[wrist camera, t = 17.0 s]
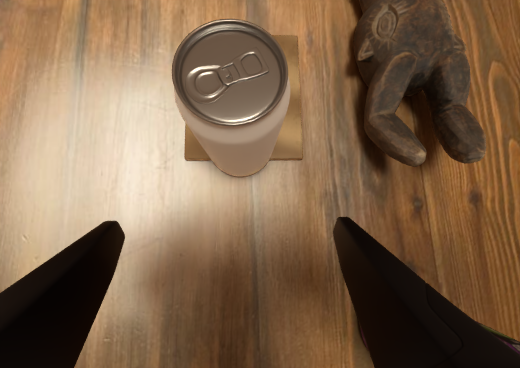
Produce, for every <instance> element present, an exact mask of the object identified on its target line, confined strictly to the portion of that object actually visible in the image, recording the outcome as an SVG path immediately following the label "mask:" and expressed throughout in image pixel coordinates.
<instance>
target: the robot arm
mask: <svg viewBox="0 0 520 368" xmlns="http://www.w3.org/2000/svg"><path fill="white" fill-rule="evenodd" d="M333 236H334V240H335V245H336V249H337V254H338V258H339V263H340V267H341V271H342V274H343V277H344V280H345V283H346V285H347V288H348V291H349V294H350V297H351V300H352V303H353V306H354V309H355V312H356V315H357V318H358V320H359V323H360V326H361V329H362V332H363V335H364V338H365V341H366V344H367V347H368V350H369V353H370V355H371V358H372V361H373V364H374V367H375V368H520V354H519V353H517V352H516V351H515V350H513V349H512V348H511V347H509V346H508V345H507V344H505V343H504V342H503V341H501V340H500V339H499V338H497V337H496V336H495V335H493V334H492V333H490V332H489V331H488V330H486V329H485V328H484V327H482V326H481V325H480V324H478V323H477V322H476V321H474V320H473V319H472V318H470V317H469V316H468V315H466V314H465V313H464V312H462V311H461V310H460V309H458V308H457V307H456V306H454V305H453V304H452V303H451V302H450V301H448V300H447V299H446V298H445V297H443V296H442V295H441V294H440V293H438V292H437V291H436V290H435V289H434V288H432V287H431V286H430V285H429V284H428V283H425V281H424V280H423V279H422V278H420V277H419V276H418V275H417V274H416V273H414V272H413V271H412V270H411V269H410V268H408V267H407V266H406V265H405V264H404V263H403V262H401V261H400V260H399V259H398V258H397V257H395V256H394V255H393V254H392V253H391V252H389V251H388V250H387V249H386V248H385V247H383V246H382V245H381V244H380V243H379V242H377V241H376V240H375V239H374V238H373V237H372V236H370V235H369V234H368V233H367V232H366V231H364V230H363V229H362V228H361V227H360V226H358V225H357V224H356V223H355V222H354V221H352V220H351V219H350V218H349V217H338V218H337V221H336V224H335V227H334V230H333ZM124 240H125V235H124V232H123V230H122V228H121V226H120V225H119V223H118V222H117V221H105V222H103V223H102V224H100V225H99V226H97V227H96V228H94V229H93V230H91V231H90V232H88V233H87V234H86V235H84V236H83V237H81V238H80V239H78V240H77V241H75V242H74V243H72V244H71V245H70V246H68V247H67V248H65V249H64V250H62V251H61V252H59V253H58V254H56V255H55V256H54V257H52V258H51V259H49V260H48V261H46V262H45V263H43V264H42V265H40V266H39V267H38V268H36V269H35V270H33V271H32V272H30V273H29V274H27V275H26V276H24V277H23V278H21V279H20V280H19V281H17V282H16V283H14V284H13V285H11V286H10V287H8V288H7V289H5V290H4V291H2V292H1V293H0V368H74V367H75V364H76V362H77V360H78V357H79V355H80V353H81V350H82V348H83V346H84V343H85V341H86V339H87V336H88V334H89V332H90V329H91V327H92V325H93V322H94V320H95V318H96V315H97V313H98V311H99V308H100V306H101V304H102V301H103V299H104V297H105V294H106V292H107V290H108V287H109V285H110V283H111V280H112V278H113V275H114V272H115V269H116V266H117V263H118V260H119V256H120V253H121V250H122V247H123V243H124Z"/></svg>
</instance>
